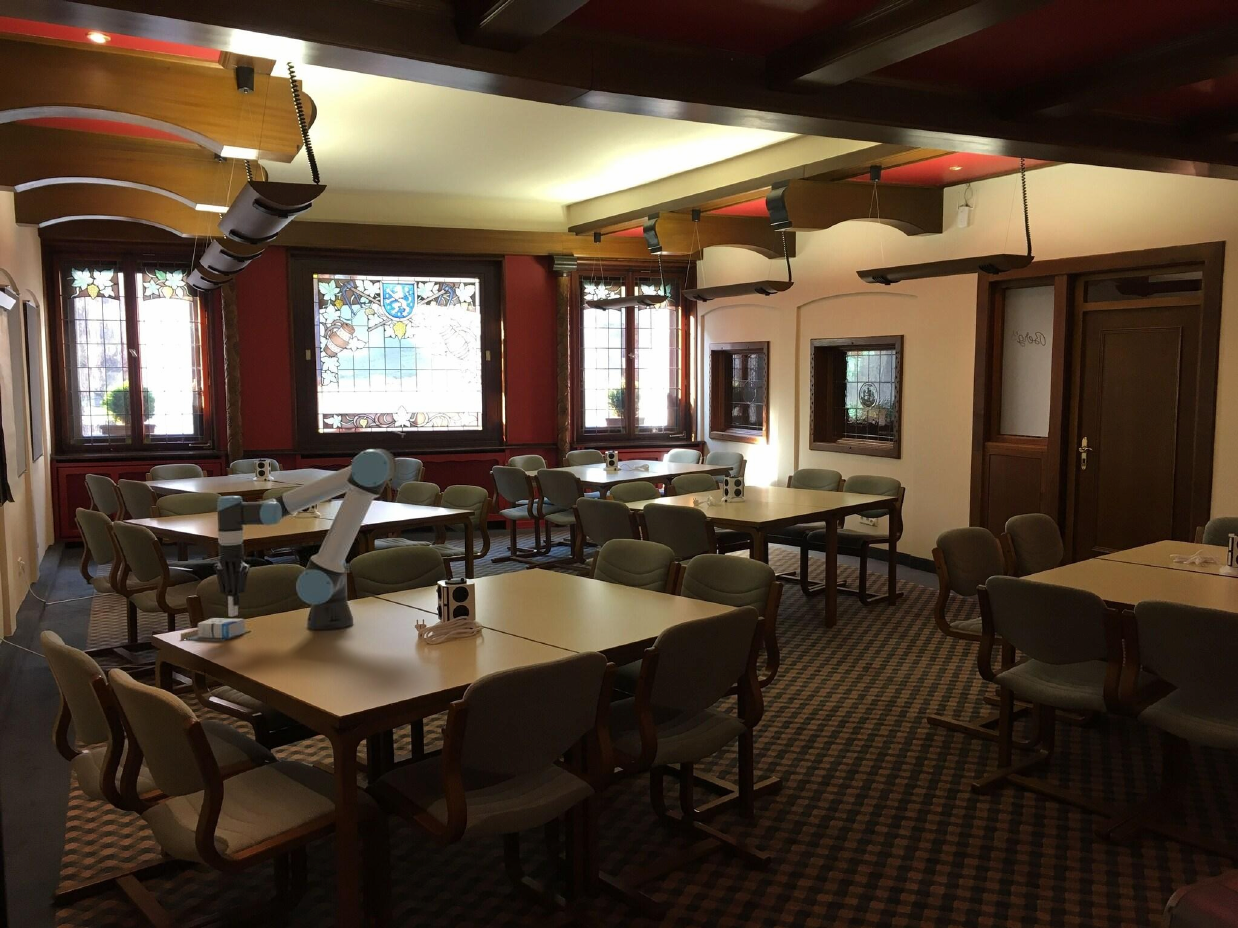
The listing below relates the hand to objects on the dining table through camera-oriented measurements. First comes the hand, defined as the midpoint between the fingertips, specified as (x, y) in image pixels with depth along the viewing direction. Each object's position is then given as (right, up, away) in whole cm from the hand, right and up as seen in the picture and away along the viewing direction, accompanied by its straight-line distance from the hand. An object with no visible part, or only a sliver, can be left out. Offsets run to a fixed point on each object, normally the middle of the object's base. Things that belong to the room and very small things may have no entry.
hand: (233, 615), depth 309 cm
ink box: (+2, -4, 0) cm, 5 cm away
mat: (-7, -7, +2) cm, 10 cm away
